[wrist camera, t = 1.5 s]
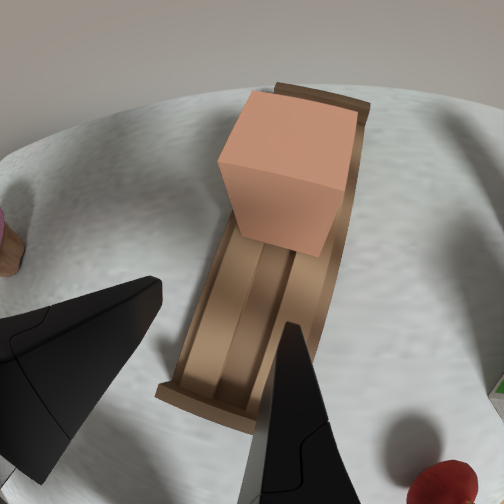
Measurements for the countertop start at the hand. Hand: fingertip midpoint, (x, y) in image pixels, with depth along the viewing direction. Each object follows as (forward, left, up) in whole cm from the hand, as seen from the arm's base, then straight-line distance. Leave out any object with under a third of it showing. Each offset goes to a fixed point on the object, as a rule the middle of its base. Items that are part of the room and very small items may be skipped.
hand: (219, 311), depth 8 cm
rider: (+5, +7, -12) cm, 15 cm away
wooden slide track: (+5, +6, -14) cm, 16 cm away
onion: (+9, -18, -14) cm, 25 cm away
